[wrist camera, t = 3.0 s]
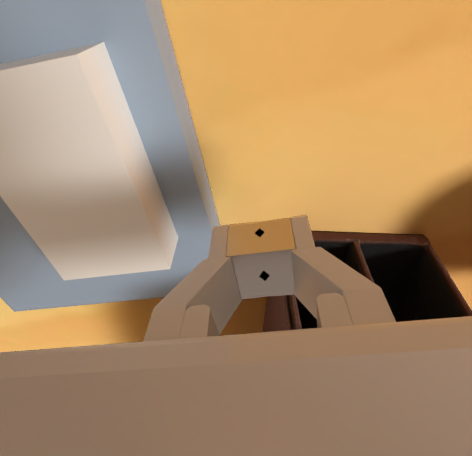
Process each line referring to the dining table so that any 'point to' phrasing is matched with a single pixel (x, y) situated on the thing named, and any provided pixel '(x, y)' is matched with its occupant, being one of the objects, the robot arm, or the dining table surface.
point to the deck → (149, 128)
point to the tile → (80, 167)
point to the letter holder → (381, 279)
